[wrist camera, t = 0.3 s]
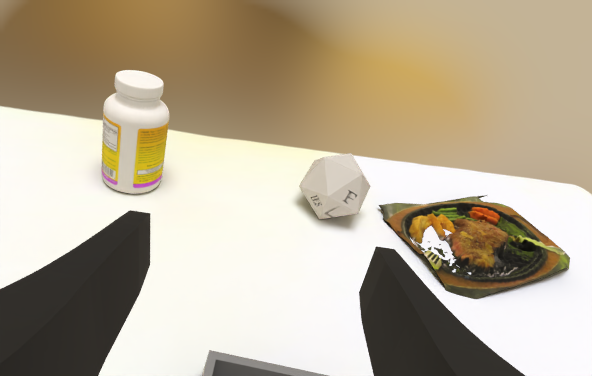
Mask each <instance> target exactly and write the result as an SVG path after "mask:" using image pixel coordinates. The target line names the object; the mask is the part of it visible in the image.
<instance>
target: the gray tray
mask: <svg viewBox="0 0 592 376" xmlns="http://www.w3.org/2000/svg"><path fill="white" fill-rule="evenodd" d="M202 376H328V375H323V374H318V373H314V372H309V371H304V370H299V369H295V368H290V367H285V366H281V365H276V364H271V363H267V362H262V361H257V360H253V359H248V358H243V357H239V356H234V355H229V354H225V353H220V352H215V351H211V350H209V354H208V357H207V360H206V364H205V367H204V370H203V374H202Z"/></svg>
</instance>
